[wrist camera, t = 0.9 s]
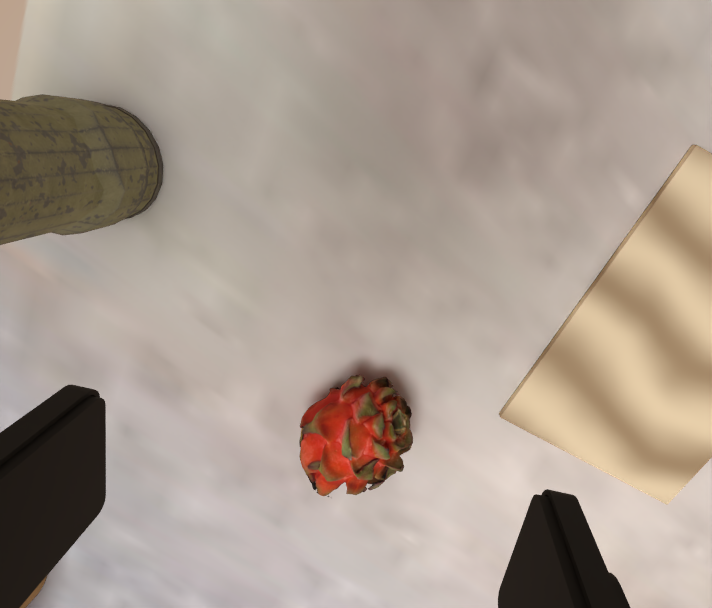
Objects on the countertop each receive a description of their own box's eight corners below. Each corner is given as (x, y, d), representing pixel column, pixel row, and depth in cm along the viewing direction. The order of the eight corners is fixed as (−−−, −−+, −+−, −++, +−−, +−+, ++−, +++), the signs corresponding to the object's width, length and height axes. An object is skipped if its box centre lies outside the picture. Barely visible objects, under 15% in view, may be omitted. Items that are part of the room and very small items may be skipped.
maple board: (692, 145, 34) (696, 145, 34) (890, 256, 35) (897, 257, 34) (499, 413, 42) (500, 417, 41) (663, 499, 43) (667, 504, 42)
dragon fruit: (413, 357, 43) (337, 438, 49) (334, 338, 38) (258, 431, 43) (457, 443, 38) (365, 524, 43) (371, 435, 32) (279, 527, 38)
